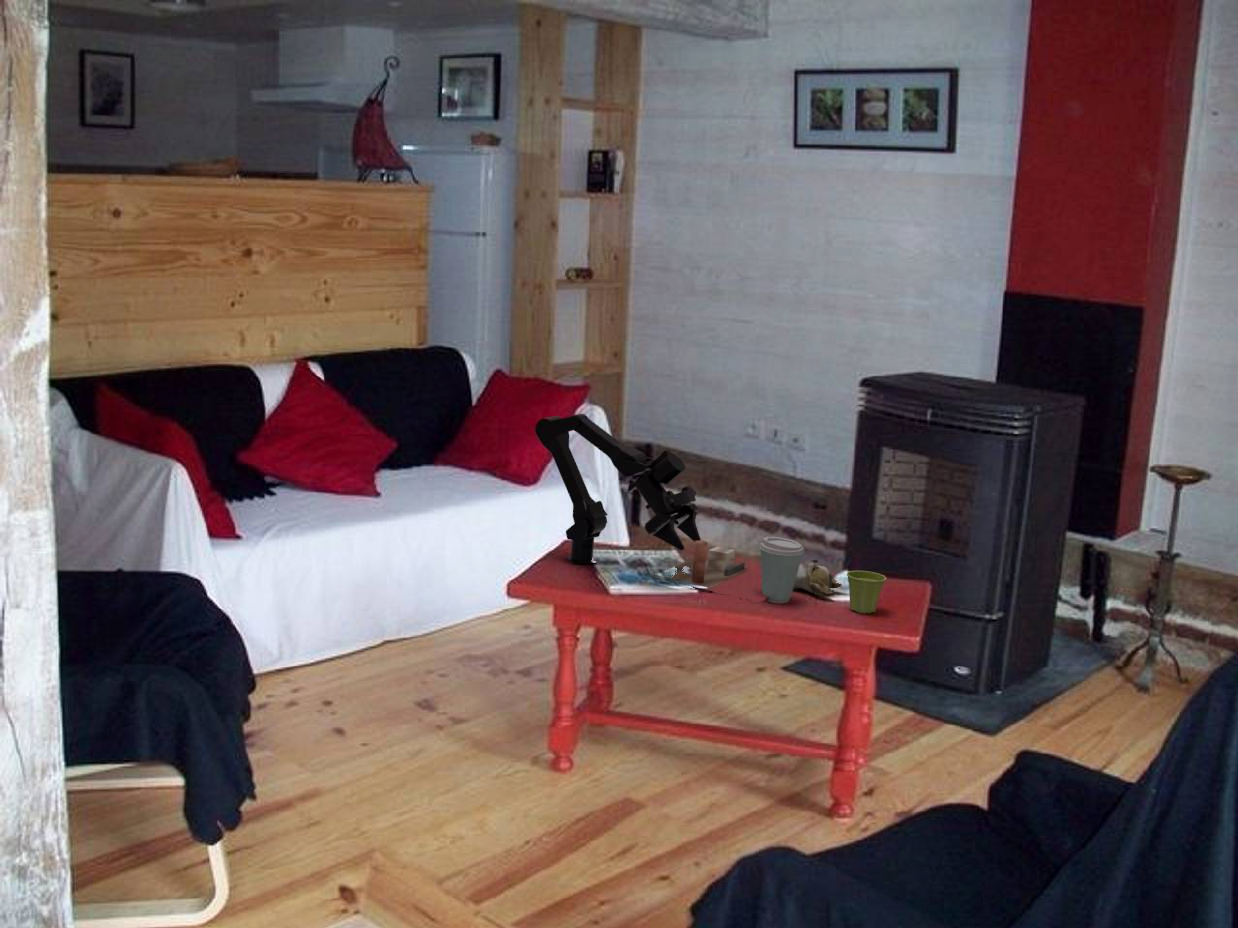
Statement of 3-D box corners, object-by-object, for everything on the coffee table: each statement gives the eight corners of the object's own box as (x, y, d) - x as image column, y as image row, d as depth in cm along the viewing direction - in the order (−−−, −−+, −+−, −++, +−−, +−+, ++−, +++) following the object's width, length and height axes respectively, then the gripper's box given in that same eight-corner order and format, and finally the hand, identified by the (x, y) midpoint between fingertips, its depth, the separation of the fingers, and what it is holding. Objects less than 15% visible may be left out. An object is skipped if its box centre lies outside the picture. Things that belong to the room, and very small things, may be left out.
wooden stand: (652, 579, 355) (656, 535, 353) (695, 561, 375) (699, 520, 373) (710, 592, 347) (714, 547, 345) (750, 573, 368) (755, 531, 366)
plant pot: (840, 603, 348) (844, 568, 347) (879, 606, 348) (883, 572, 347) (845, 614, 339) (849, 578, 338) (884, 617, 339) (889, 582, 337)
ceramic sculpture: (798, 549, 363) (853, 564, 355) (793, 581, 364) (848, 597, 357) (781, 556, 354) (837, 572, 346) (776, 590, 355) (831, 606, 348)
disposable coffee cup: (785, 593, 353) (791, 534, 350) (806, 605, 343) (813, 545, 341) (747, 594, 349) (753, 534, 347) (767, 607, 340) (773, 546, 337)
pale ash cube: (707, 568, 364) (709, 549, 363) (715, 565, 369) (717, 546, 368) (725, 572, 362) (726, 553, 361) (733, 569, 366) (735, 550, 365)
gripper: (659, 481, 343) (697, 534, 340) (694, 471, 359) (730, 521, 356) (628, 507, 348) (665, 560, 345) (664, 496, 364) (699, 546, 361)
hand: (691, 546), depth 352 cm, fingers open, 9 cm apart
